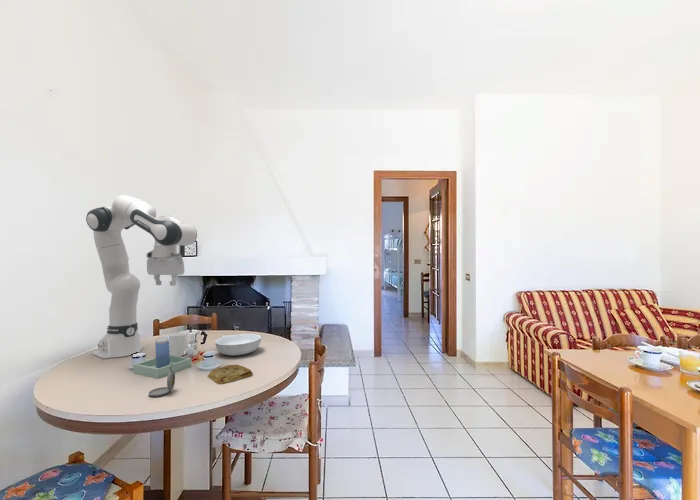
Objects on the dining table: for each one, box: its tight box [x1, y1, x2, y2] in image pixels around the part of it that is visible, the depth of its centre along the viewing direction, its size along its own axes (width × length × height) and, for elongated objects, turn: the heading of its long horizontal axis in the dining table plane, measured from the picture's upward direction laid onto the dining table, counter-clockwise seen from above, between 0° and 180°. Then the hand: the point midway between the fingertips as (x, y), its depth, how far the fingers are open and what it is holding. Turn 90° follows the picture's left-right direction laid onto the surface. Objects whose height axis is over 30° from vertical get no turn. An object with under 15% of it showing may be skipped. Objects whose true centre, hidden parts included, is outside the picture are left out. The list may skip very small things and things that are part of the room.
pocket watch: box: [148, 363, 176, 398], centre depth 118 cm, size 8×8×10 cm
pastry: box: [207, 364, 253, 385], centre depth 134 cm, size 17×17×3 cm
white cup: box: [168, 331, 189, 357], centre depth 163 cm, size 8×8×10 cm
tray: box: [133, 354, 193, 379], centre depth 142 cm, size 15×15×4 cm
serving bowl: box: [214, 333, 262, 357], centre depth 165 cm, size 21×21×7 cm
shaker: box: [154, 336, 171, 368], centre depth 142 cm, size 5×5×12 cm
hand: (165, 285), depth 150 cm, fingers open, 8 cm apart
